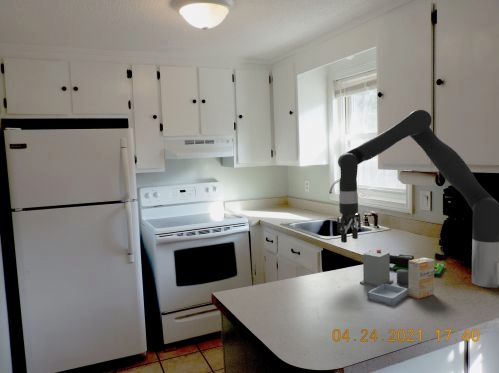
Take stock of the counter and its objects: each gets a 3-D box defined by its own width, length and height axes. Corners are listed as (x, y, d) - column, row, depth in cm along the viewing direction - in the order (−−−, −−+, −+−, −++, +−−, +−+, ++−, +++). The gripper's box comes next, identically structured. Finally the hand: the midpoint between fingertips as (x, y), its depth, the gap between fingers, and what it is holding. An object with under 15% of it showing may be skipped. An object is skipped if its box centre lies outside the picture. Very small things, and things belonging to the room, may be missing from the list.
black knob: (410, 283, 157) (410, 270, 157) (405, 286, 154) (405, 273, 154) (400, 280, 161) (399, 268, 160) (394, 283, 158) (394, 271, 157)
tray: (408, 295, 145) (408, 288, 144) (392, 305, 136) (392, 298, 136) (383, 289, 151) (383, 283, 151) (367, 298, 143) (367, 292, 142)
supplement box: (419, 299, 140) (419, 263, 139) (407, 295, 145) (407, 260, 144) (434, 295, 144) (435, 259, 143) (423, 291, 148) (423, 256, 147)
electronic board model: (444, 252, 175) (439, 261, 163) (444, 267, 176) (439, 277, 163) (376, 245, 192) (366, 252, 179) (376, 259, 192) (366, 267, 180)
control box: (393, 282, 159) (393, 250, 158) (381, 288, 152) (380, 255, 151) (372, 277, 166) (372, 246, 165) (359, 283, 159) (359, 251, 158)
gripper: (347, 204, 157) (348, 244, 158) (365, 200, 167) (366, 238, 168) (331, 203, 162) (332, 242, 164) (349, 199, 172) (350, 236, 174)
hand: (349, 240), depth 166 cm, fingers open, 8 cm apart
